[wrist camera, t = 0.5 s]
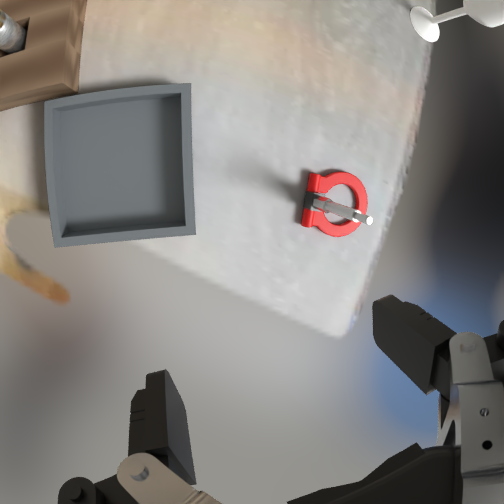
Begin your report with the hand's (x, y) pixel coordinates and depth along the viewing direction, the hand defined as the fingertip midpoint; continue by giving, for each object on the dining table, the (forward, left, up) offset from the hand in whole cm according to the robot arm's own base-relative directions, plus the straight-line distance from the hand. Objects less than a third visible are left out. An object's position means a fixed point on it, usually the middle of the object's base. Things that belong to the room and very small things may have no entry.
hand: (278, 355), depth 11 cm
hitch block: (-23, -21, -28) cm, 42 cm away
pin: (-23, -21, -28) cm, 42 cm away
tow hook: (-1, +17, -28) cm, 33 cm away
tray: (-7, -9, -28) cm, 30 cm away
